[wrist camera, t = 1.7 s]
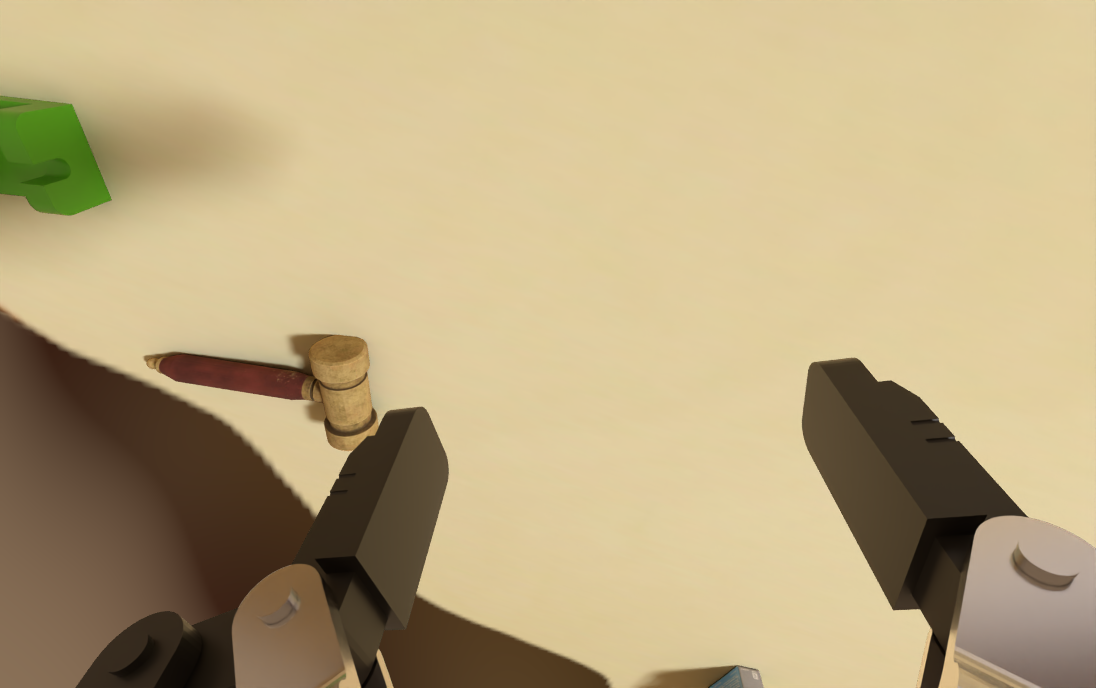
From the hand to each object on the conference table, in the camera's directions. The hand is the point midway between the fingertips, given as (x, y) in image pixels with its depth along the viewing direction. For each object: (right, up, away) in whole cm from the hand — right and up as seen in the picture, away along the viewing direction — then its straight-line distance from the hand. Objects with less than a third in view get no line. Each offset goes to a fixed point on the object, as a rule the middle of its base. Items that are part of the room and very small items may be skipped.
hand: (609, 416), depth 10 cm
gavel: (-27, -1, +35) cm, 44 cm away
